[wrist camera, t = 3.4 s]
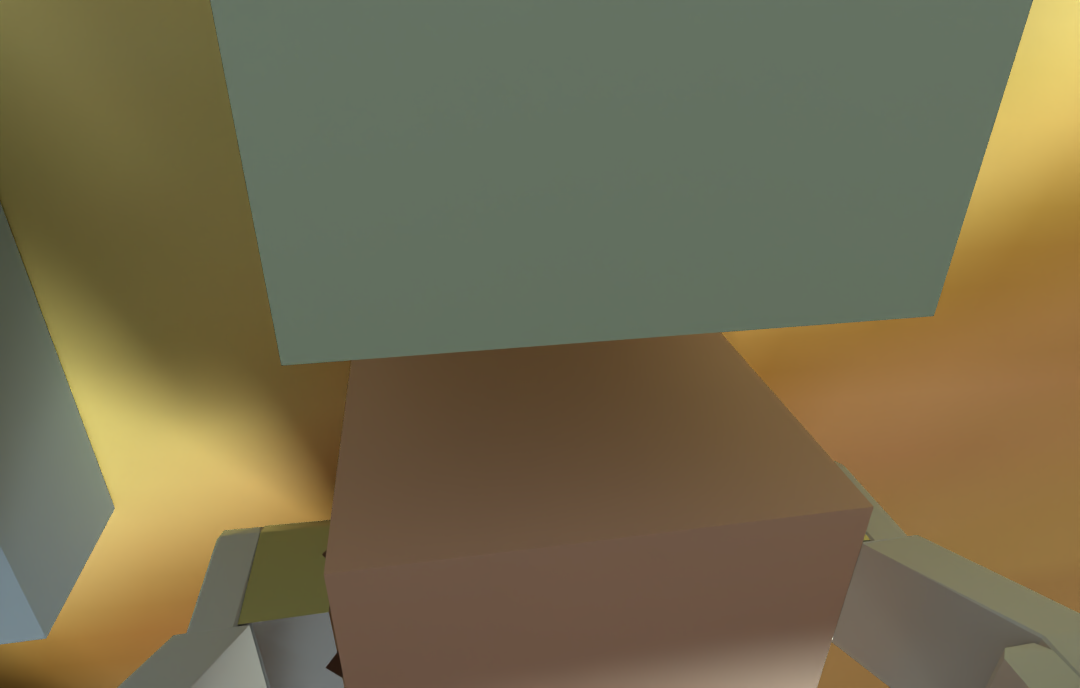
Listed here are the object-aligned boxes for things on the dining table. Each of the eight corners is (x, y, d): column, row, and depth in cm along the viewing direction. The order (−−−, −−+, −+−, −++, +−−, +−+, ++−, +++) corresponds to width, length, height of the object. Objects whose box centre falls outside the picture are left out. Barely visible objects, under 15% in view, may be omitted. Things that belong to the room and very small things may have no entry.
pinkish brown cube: (684, 291, 11) (874, 506, 6) (655, 530, 13) (780, 804, 9) (356, 313, 10) (322, 574, 6) (389, 563, 12) (382, 882, 8)
